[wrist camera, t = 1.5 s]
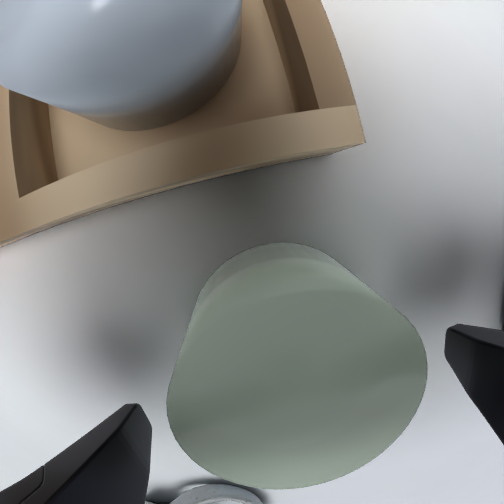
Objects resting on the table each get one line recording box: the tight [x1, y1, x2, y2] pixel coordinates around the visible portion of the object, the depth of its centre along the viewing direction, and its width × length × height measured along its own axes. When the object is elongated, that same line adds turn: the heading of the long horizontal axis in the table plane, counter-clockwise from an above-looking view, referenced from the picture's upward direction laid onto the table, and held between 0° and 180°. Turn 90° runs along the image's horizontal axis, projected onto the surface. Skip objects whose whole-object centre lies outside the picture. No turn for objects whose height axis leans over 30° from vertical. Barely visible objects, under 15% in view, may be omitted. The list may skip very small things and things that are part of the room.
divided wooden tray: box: [0, 0, 366, 247], centre depth 7 cm, size 20×10×3 cm, turn 103°
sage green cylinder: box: [166, 243, 427, 489], centre depth 9 cm, size 6×6×5 cm
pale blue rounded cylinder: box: [0, 0, 242, 131], centre depth 6 cm, size 6×6×5 cm
